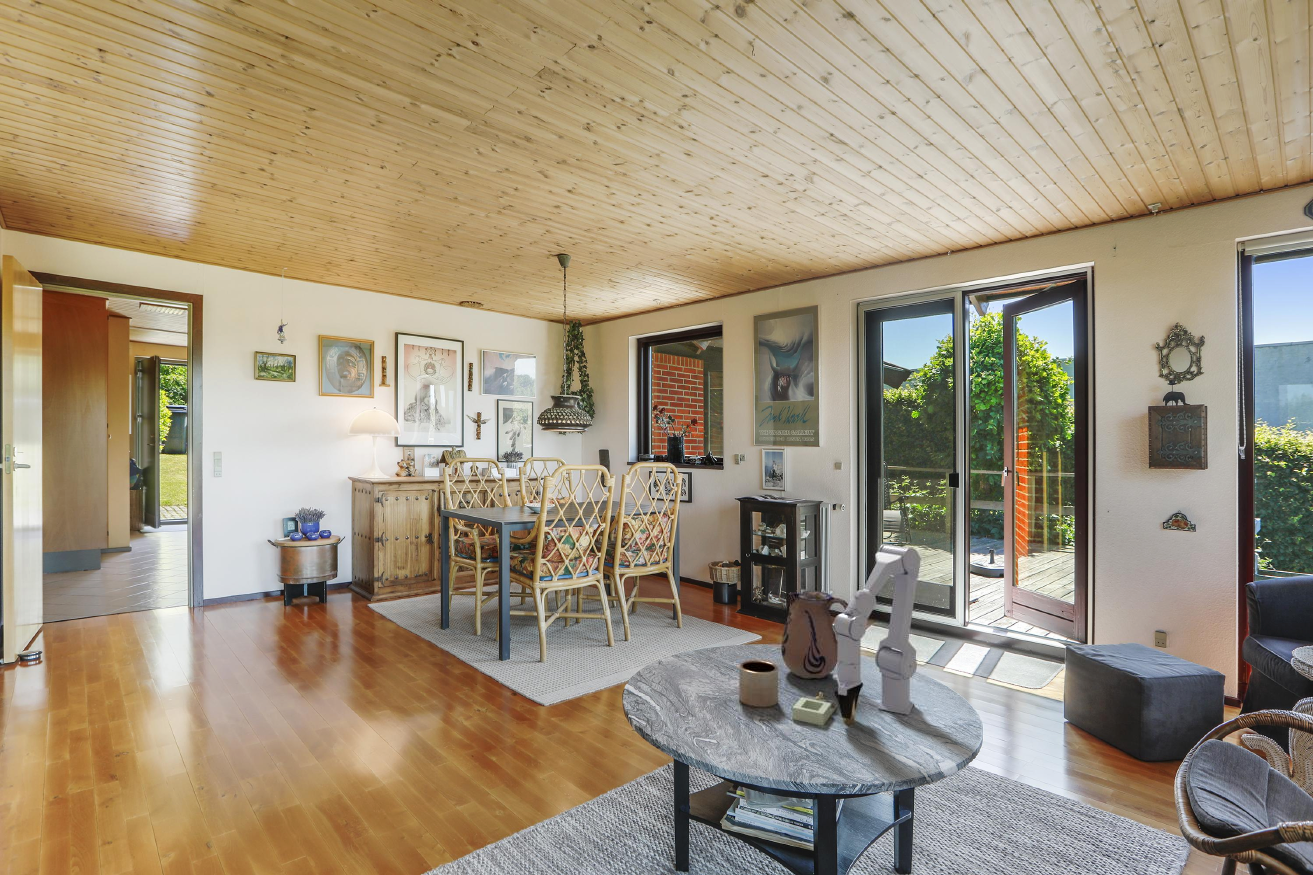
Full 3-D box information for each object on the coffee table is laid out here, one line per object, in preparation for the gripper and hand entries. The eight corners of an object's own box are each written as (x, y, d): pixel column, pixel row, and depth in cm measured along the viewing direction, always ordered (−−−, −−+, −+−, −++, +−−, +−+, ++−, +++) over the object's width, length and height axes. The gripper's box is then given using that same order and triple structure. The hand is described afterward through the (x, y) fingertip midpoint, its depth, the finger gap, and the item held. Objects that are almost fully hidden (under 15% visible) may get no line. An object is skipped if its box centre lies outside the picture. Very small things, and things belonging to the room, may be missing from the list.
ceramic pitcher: (784, 662, 211) (785, 586, 212) (851, 669, 205) (851, 591, 205) (777, 680, 195) (778, 597, 195) (849, 688, 188) (850, 603, 189)
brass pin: (844, 718, 167) (844, 691, 167) (855, 720, 166) (855, 693, 166) (841, 722, 165) (841, 695, 165) (853, 724, 163) (853, 697, 163)
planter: (731, 697, 181) (731, 663, 181) (762, 691, 186) (762, 657, 186) (754, 711, 171) (754, 675, 171) (786, 704, 176) (786, 669, 176)
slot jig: (807, 700, 179) (807, 688, 179) (838, 707, 174) (838, 694, 175) (792, 718, 166) (792, 705, 166) (824, 726, 162) (824, 712, 162)
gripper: (840, 651, 174) (839, 701, 174) (826, 666, 161) (825, 720, 161) (866, 655, 170) (866, 706, 170) (854, 671, 158) (854, 726, 157)
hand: (848, 714), depth 165 cm, fingers open, 5 cm apart
